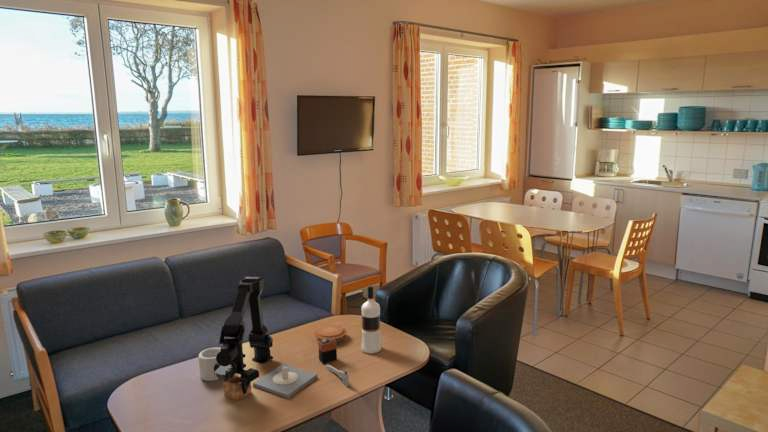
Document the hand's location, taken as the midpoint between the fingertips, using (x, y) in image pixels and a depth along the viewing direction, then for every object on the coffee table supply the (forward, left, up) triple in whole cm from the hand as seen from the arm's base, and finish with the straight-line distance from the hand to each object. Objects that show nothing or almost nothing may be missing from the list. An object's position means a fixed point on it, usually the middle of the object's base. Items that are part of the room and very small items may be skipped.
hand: (237, 391), depth 200 cm
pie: (+2, +57, -2) cm, 57 cm away
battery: (+14, +39, -2) cm, 41 cm away
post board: (+10, +16, -1) cm, 19 cm away
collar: (0, 0, -1) cm, 1 cm away
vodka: (+25, +57, -2) cm, 62 cm away
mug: (-21, +6, -2) cm, 22 cm away
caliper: (+25, +30, -2) cm, 39 cm away
